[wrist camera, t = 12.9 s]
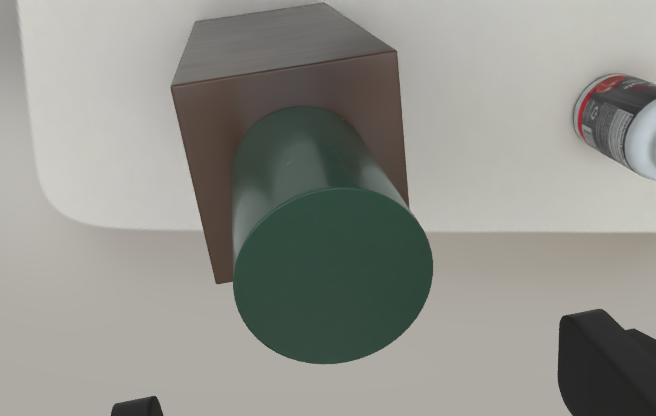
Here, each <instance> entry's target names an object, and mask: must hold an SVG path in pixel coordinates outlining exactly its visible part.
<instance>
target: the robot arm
mask: <svg viewBox="0 0 656 416" xmlns="http://www.w3.org/2000/svg"><path fill="white" fill-rule="evenodd" d="M558 384H559V388H560V392H561V396H562V398H563V401H564V403H565V405H566V406H567V408H568V410H569V411H570V413H571V414H572V415H573V416H656V339H654V338H651V337H650V336H648V335H646V334H644V333H642V332H640V331H638V330H636V329H629V330H624V329H623V328H622V327H621V326H620V325H619V324H618V323H617V322H616V321H615V320H614V319H613V318H612V317H611V316H610V315H609V314H608V313H607V312H605V311H604V310H602V309H595V310H590V311H586V312H580V313H576V314H570V315H565V316H563V317H562V318H561V320H560V328H559V353H558ZM111 416H163V413H162V410H161V406H160V403H159V401H158V399H157V397H156V396H151V397H147V398H142V399H137V400H131V401H126V402H122V403H117V404H115V405H114V406H113V409H112V412H111Z"/></svg>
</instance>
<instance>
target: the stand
mask: <svg viewBox="0 0 656 416" xmlns="http://www.w3.org/2000/svg"><path fill="white" fill-rule="evenodd" d="M171 92H172V96H173V101H174V105H175V109H176V114H177V118H178V122H179V127H180V131H181V135H182V139H183V144H184V148H185V152H186V157H187V161H188V165H189V170H190V174H191V178H192V183H193V187H194V191H195V196H196V200H197V204H198V208H199V213H200V217H201V221H202V226H203V230H204V234H205V239H206V243H207V247H208V251H209V256H210V260H211V264H212V269H213V273H214V277H215V281H216V284H221V283H227V282H233V245H232V190H231V169H232V162H233V158H234V155H235V152H236V149H237V147H238V145H239V143H240V142H241V140H242V138H243V137H244V135H245V134H246V133H247V132H248V131H249V129H250V128H251V127H253V126H254V125H255V124H256V123H257V122H258V121H260V120H261V119H263V118H264V117H266V116H268V115H270V114H272V113H274V112H276V111H279V110H282V109H286V108H290V107H299V106H307V107H316V108H321V109H324V110H328V111H330V112H332V113H335V114H337V115H338V116H340V117H342V118H343V119H345V120H346V121H347V122H348V123H349V124H351V125H352V126H353V127H354V129H355V130H356V131H357V132H358V133H359V135H360V136H361V138H362V139H363V141H364V142H365V144H366V145H367V147H368V148H369V150H370V151H371V153H372V154H373V156H374V157H375V159H376V160H377V162H378V163H379V165H380V166H381V168H382V169H383V171H384V172H385V174H386V175H387V177H388V178H389V180H390V181H391V183H392V184H393V185H394V187H395V188H396V190H397V191H398V193H399V194H400V196H401V197H402V199H403V200H404V202H405V203H406V205H407V206H408V208H409V198H408V185H407V172H406V160H405V147H404V134H403V121H402V108H401V96H400V83H399V70H398V57H397V51H396V50H395V49H393V48H392V47H390V46H389V45H387V44H386V43H384V42H383V41H381V40H380V39H378V38H377V37H375V36H374V35H372V34H371V33H369V32H368V31H366V30H365V29H363V28H362V27H360V26H359V25H357V24H356V23H354V22H353V21H351V20H350V19H348V18H347V17H345V16H344V15H342V14H341V13H339V12H337V11H336V10H334V9H333V8H331V7H330V6H328V5H327V4H325V3H318V4H311V5H304V6H297V7H291V8H284V9H277V10H270V11H264V12H257V13H250V14H243V15H237V16H230V17H223V18H216V19H210V20H203V21H196V22H195V23H194V26H193V29H192V31H191V34H190V37H189V39H188V42H187V45H186V47H185V50H184V52H183V55H182V58H181V60H180V63H179V66H178V68H177V71H176V73H175V76H174V79H173V81H172V84H171Z"/></svg>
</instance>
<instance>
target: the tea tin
mask: <svg viewBox="0 0 656 416" xmlns="http://www.w3.org/2000/svg"><path fill="white" fill-rule="evenodd" d="M231 190H232V245H233V289H234V296H235V301H236V305H237V308H238V311H239V313H240V315H241V317H242V319H243V321H244V323H245V324H246V326H247V327H248V329H249V330H250V331H251V332H252V333H253V334H254V336H255V337H256V338H257V339H258V340H260V341H261V342H262V343H263V344H264V345H266V346H267V347H268V348H270V349H272V350H273V351H275V352H276V353H279V354H281V355H283V356H285V357H287V358H291V359H294V360H297V361H301V362H306V363H313V364H336V363H343V362H349V361H353V360H357V359H360V358H363V357H365V356H368V355H371V354H373V353H375V352H377V351H378V350H381V349H382V348H384V347H386V346H387V345H389V344H390V343H392V342H393V341H394V340H396V339H397V338H398V337H399V336H401V335H402V333H404V332H405V331H406V329H408V328H409V327H410V325H411V324H412V323H413V322H414V320H415V319H416V318H417V316H418V315H419V313H420V311H421V310H422V308H423V306H424V304H425V302H426V299H427V297H428V294H429V291H430V287H431V282H432V276H433V259H432V252H431V248H430V245H429V241H428V239H427V237H426V234H425V232H424V230H423V229H422V227H421V226H420V224H419V223H418V221H417V220H416V218H415V217H414V215H413V214H412V212H411V211H410V209H409V208H408V206H407V205H406V203H405V202H404V200H403V199H402V197H401V196H400V194H399V193H398V191H397V190H396V188H395V187H394V185H393V184H392V183H391V181H390V180H389V178H388V177H387V175H386V174H385V172H384V171H383V169H382V168H381V166H380V165H379V163H378V162H377V160H376V159H375V157H374V156H373V154H372V153H371V151H370V150H369V148H368V147H367V145H366V144H365V142H364V141H363V139H362V138H361V136H360V135H359V133H358V132H357V131H356V130H355V129H354V127H353V126H352V125H351V124H349V123H348V122H347V121H346V120H345V119H343V118H342V117H340V116H338V115H337V114H335V113H332V112H330V111H328V110H324V109H321V108H316V107H307V106H299V107H290V108H286V109H282V110H279V111H276V112H274V113H272V114H270V115H268V116H266V117H264V118H263V119H261V120H260V121H258V122H257V123H256V124H255V125H254V126H253V127H251V128H250V129H249V131H248V132H247V133H246V134H245V135H244V137H243V138H242V140H241V142H240V143H239V145H238V147H237V149H236V152H235V155H234V158H233V162H232V169H231Z"/></svg>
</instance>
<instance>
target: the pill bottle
mask: <svg viewBox="0 0 656 416" xmlns="http://www.w3.org/2000/svg"><path fill="white" fill-rule="evenodd" d="M574 126H575V129H576V132H577V134H578V135H579V137H580V138H581V139H582V140H583V141H584V142H585V143H586V144H588V145H589V146H591V147H592V148H594V149H596V150H597V151H599V152H601V153H603V154H604V155H606V156H608V157H609V158H611V159H613V160H615V161H617V162H618V163H620V164H622V165H623V166H625V167H627V168H629V169H630V170H632V171H634V172H635V173H637V174H639V175H641V176H643V177H646V178H648V179H652V180H656V85H655V84H653V83H650V82H647V81H644V80H641V79H638V78H636V77H632V76H629V75H625V74H612V75H608V76H604V77H602V78H600V79H598V80H596V81H595V82H594V83H592V84H591V85H590V86H589V87H587V88H586V90H585V91H584V92H583V93H582V95H581V97H580V98H579V100H578V102H577V104H576V107H575V111H574Z"/></svg>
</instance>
